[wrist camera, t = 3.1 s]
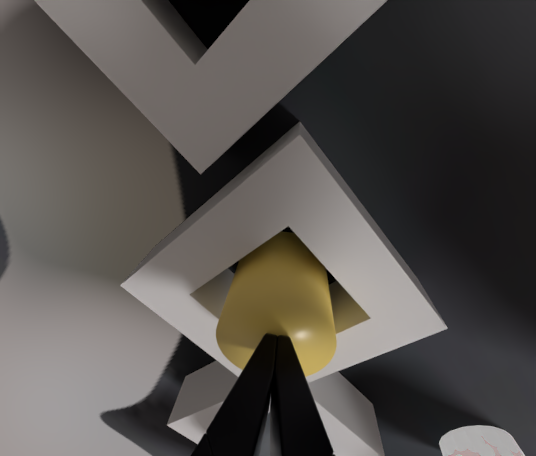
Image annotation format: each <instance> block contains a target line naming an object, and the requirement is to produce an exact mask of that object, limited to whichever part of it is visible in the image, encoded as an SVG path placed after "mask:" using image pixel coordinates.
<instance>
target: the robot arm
mask: <svg viewBox="0 0 536 456" xmlns="http://www.w3.org/2000/svg"><path fill="white" fill-rule="evenodd" d="M270 398H271V399H270ZM269 406H270V456H335V454H333V452H334V451H333V448H332V445H331V443H330V440H329V438H328V435H327V432H326V430H325V427H324V424H323V422H322V419H321V417H320V414H319V411H318V409H317V406H316V403H315V401H314V398H313V396H312V393H311V390H310V388H309V385H308V382H307V380H306V377H305V375H304V372H303V369H302V367H301V364H300V361H299V359H298V356H297V354H296V351H295V348H294V346H293V343H292V340H291V338H290V337H289V336H283V335H279V336H278V337H277V335H275V334H268V333H266V334H265V335H264V336H263V337H262V339H261V341H260V342H259V344H258V346H257V347H256V349H255V351H254V352H253V354H252V356H251V357H250V359H249V361H248V362H247V364H246V366H245V367H244V369H243V371H242V372H241V374H240V376H239V377H238V379H237V380H236V382H235V384H234V385H233V387H232V389H231V390H230V392H229V394H228V395H227V397H226V399H225V400H224V402H223V404H222V405H221V407H220V409H219V410H218V412H217V414H216V415H215V417H214V419H213V420H212V422H211V423H210V425H209V427H208V428H207V430H206V433H205V434H204V435H203V436H202V438H201V440H200V441H199V443H198V445H197V446H196V448H195V450H194V451H193V453H192V454H191V456H259V454H260V450H261V445H262V440H263V435H264V431H265V426H266V421H267V416H268V411H269Z"/></svg>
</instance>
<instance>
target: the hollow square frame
mask: <svg viewBox="0 0 536 456" xmlns="http://www.w3.org/2000/svg"><path fill="white" fill-rule="evenodd" d="M288 226H289V227H290V228H291V229H292V231H293V232H294V233H295V234H296V235H297V236H298V237H299V238H300V239H301V241H302V242H303V243H304V244H305V245H306V246H307V247H308V248H309V250H310V251H311V252H312V253H313V254H314V255H315V256H316V257H317V258H318V260H319V261H320V262H321V263H322V264H323V265H324V266H325V267H326V269H327V270H328V271H329V272H330V273H331V274H332V275H333V276H334V277H335V279H336V280H337V281H335V282H333V283H331V284H329V292H330V299H331V306H332V312H333V319H334V326H335V333H336V340H337V347H336V351H335V354H334V356H333V358H332V359H331V361H330V362H329V363H328V364H327V365H326V366H325V367H324V368H323V369H321V370H320V371H318V372H316V373H314V374H312V375H309V376H307V377H306V380H307V382H308V383H309V382H312V381H314V380H317V379H319V378H322V377H324V376H327V375H330V374H332V373H335V372H337V371H340V370H342V369H345V368H347V367H350V366H353V365H355V364H358V363H360V362H363V361H365V360H368V359H371V358H373V357H376V356H378V355H381V354H383V353H386V352H389V351H391V350H394V349H396V348H399V347H401V346H404V345H407V344H409V343H412V342H414V341H417V340H419V339H422V338H425V337H427V336H430V335H432V334H435V333H437V332H440V331H443V330H445V329H448V328H447V326H446V325H445V323H444V321H443V320H442V318H441V316H440V315H439V313H438V311H437V310H436V308H435V307H434V305H433V303H432V302H431V300H430V298H429V297H428V295H427V293H426V292H425V290H424V288H423V287H422V285H421V284H420V282H419V280H418V279H417V277H416V276H415V274H414V273H413V272H412V270H411V269H410V268H409V266H408V265H407V264H406V262H405V261H404V260H403V258H402V257H401V256H400V254H399V253H398V252H397V250H396V249H395V248H394V246H393V245H392V244H391V242H390V241H389V240H388V238H387V237H386V236H385V234H384V233H383V232H382V230H381V229H380V228H379V226H378V225H377V224H376V222H375V221H374V220H373V218H372V217H371V216H370V214H369V213H368V212H367V210H366V209H365V208H364V206H363V205H362V204H361V202H360V201H359V200H358V198H357V197H356V196H355V194H354V193H353V192H352V190H351V189H350V187H349V186H348V185H347V183H346V182H345V181H344V179H343V178H342V177H341V175H340V174H339V173H338V171H337V170H336V169H335V167H334V166H333V165H332V163H331V162H330V161H329V159H328V158H327V157H326V155H325V154H324V153H323V151H322V150H321V149H320V147H319V146H318V145H317V143H316V142H315V141H314V139H313V138H312V137H311V135H310V134H309V133H308V131H307V130H306V129H305V127H304V126H303V125H302V123H301V122H300V121H299V122H298V123H297V124H296V125H295V126H294V127H292V128H291V129H290V130H289V131H288V132H287V133H285V134H284V135H283V136H282V137H281V138H280V139H278V140H277V141H276V142H275V143H274V144H273V145H272V146H270V147H269V148H268V149H267V150H266V151H265V152H263V153H262V154H261V155H260V156H259V157H258V158H256V159H255V160H254V161H253V162H252V163H251V164H250V165H248V166H247V167H246V168H245V169H244V170H243V171H241V172H240V173H239V174H238V175H237V176H236V177H234V178H233V179H232V180H231V181H230V182H229V183H228V184H226V185H225V186H224V187H223V188H222V189H221V190H219V191H218V192H217V193H216V194H215V195H214V196H213V197H211V198H210V199H209V200H208V201H207V202H206V203H204V204H203V205H202V206H201V207H200V208H199V209H197V210H196V211H195V212H194V213H193V214H192V215H191V216H189V217H188V218H187V219H186V220H185V221H184V222H182V223H181V224H180V225H179V226H178V227H177V228H175V230H173V231H172V232H171V233H170V234H169V235H168V236H166V237H165V238H164V239H163V240H162V241H160V242H159V243H158V244H157V245H156V246H155V247H154V248H153V249H152V250H151V251H150V253H149V254H148V255H147V256H146V257H145V258H144V259H143V260H142V261H141V263H140V264H139V265H138V266H137V267H136V268H135V269H134V270H133V272H132V273H131V274H130V275H129V276H128V277H127V278H126V280H125V281H124V282H123V283H122V284H121V285H120V286H121V287H123V288H124V289H126V290H127V291H128V292H129V293H130V294H132V295H133V296H134V297H136V298H137V299H138V300H139V301H141V302H142V303H143V304H145V305H146V306H147V307H148V308H150V309H151V310H152V311H154V312H155V313H157V314H158V315H159V316H160V317H162V318H163V319H164V320H166V321H167V322H168V323H169V324H170V325H172V326H173V327H174V328H176V329H177V330H178V331H180V332H181V333H182V334H183V335H185V336H186V337H187V338H189V339H190V340H191V341H192V342H194V343H195V344H196V345H198V346H199V347H200V348H201V349H203V350H204V351H205V352H207V353H208V354H209V355H211V356H212V357H213V358H214V359H216V360H217V361H218V362H220V363H221V364H222V365H223V366H225V367H226V368H227V369H229V370H230V371H231V372H232V373H234V374H235V375H236V376H238V377H239V376H240V374H241V372H242V371H243V370H242V369H240V368H238V367H237V366H235V365H234V364H232V363H231V362H230V361H229V360H228V359H227V358H226V357H225V356H224V355H223V353H222V352H221V350H220V348H219V346H218V344H217V340H216V328H217V324H218V321H219V318H220V315H221V312H222V309H223V306H224V304H225V301H226V298H227V295H228V292H229V289H230V286H231V283H232V280H233V277H234V273H233V272H232V271H231V270H229V269H228V267H230V266H231V265H233V264H234V263H236V262H237V261H238V260H240V259H241V258H243V257H244V256H246V255H247V254H249V253H250V252H252V251H253V250H254V249H256V248H257V247H259V246H260V245H262V244H263V243H265V242H266V241H267V240H269V239H270V238H272V237H273V236H275V235H276V234H278V233H279V232H280V231H282V230H283V229H285V228H286V227H288Z"/></svg>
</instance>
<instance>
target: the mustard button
mask: <svg viewBox="0 0 536 456" xmlns="http://www.w3.org/2000/svg"><path fill="white" fill-rule="evenodd" d="M266 333H268V334H275V335H277V337H278V336H279V335H283V336H289V337H290V338H291V340H292V343H293V346H294V348H295V351H296V354H297V356H298V359H299V361H300V364H301V367H302V369H303V372H304V375H305V377H307V376H309V375H312V374H314V373H316V372H318V371H320V370H321V369H323V368H324V367H325V366H326V365H327V364H328V363H329V362H330V361H331V359H332V358H333V356H334V354H335V351H336V347H337V340H336V333H335V326H334V319H333V312H332V306H331V299H330V292H329V285H328V278H327V271H326V267H325V266H324V265H323V264H322V263H321V262H320V261H319V260H318V258H317V257H316V256H315V255H314V254H313V253H312V252H311V251H310V250H309V248H308V247H307V246H306V245H305V244H304V243H303V242H302V241H301V239H300V238H299V237H298V236H297V235H296V234H294V233H289V232H279V233H278V234H276V235H275V236H273V237H272V238H270V239H269V240H267V241H266V242H265V243H263V244H262V245H260V246H259V247H257V248H256V249H254V250H253V251H252V252H250V253H249V254H247V255H246V256H244V257H243V258H241V259H240V260H239V262H238V265H237V268H236V271H235V274H234V277H233V280H232V283H231V286H230V289H229V292H228V295H227V298H226V301H225V304H224V306H223V309H222V312H221V315H220V318H219V321H218V324H217V328H216V340H217V344H218V346H219V348H220V350H221V352H222V353H223V355H224V356H225V357H226V358H227V359H228V360H229V361H230V362H231V363H232V364H234V365H235V366H237V367H238V368H240V369H242V370H243V369H244V367H245V366H246V364H247V362H248V361H249V359H250V357H251V356H252V354H253V352H254V351H255V349H256V347H257V346H258V344H259V342H260V341H261V339H262V337H263V336H264V335H265V334H266Z"/></svg>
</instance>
